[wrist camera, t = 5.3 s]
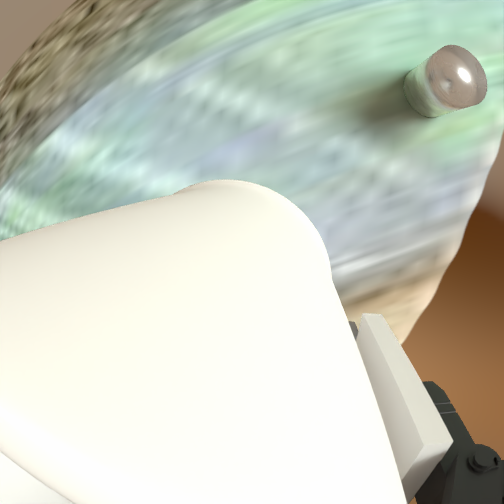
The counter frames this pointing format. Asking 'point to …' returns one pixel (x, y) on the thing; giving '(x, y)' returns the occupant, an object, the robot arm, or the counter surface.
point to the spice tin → (446, 82)
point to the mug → (184, 360)
